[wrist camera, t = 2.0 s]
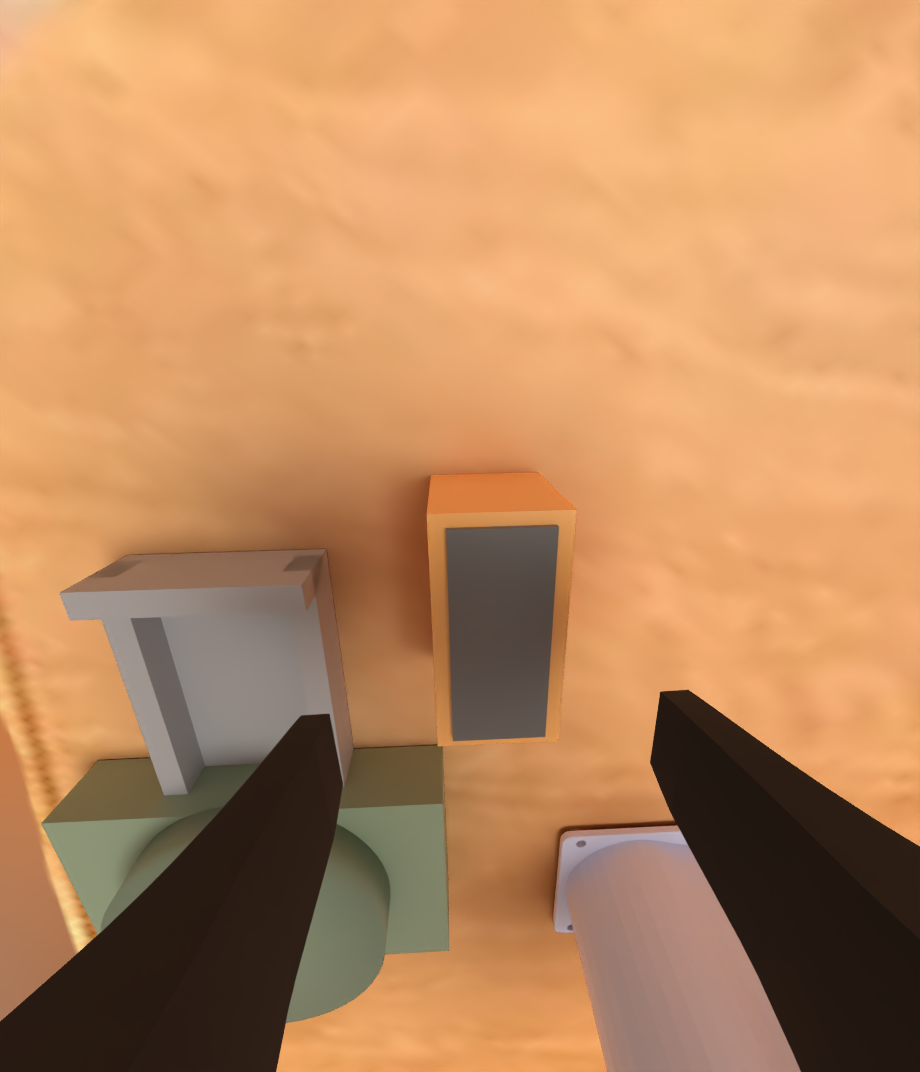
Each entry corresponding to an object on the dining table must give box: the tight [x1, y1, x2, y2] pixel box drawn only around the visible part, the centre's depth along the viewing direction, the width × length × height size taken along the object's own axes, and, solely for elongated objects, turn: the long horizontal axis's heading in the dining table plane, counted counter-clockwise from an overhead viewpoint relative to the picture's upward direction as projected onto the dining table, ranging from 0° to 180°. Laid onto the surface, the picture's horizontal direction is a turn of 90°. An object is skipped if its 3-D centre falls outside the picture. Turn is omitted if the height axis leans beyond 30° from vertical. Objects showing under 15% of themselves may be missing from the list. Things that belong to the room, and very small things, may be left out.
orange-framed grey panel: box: [427, 472, 577, 747], centre depth 15 cm, size 4×8×5 cm, turn 1°
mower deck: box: [41, 549, 449, 1023], centre depth 18 cm, size 16×21×5 cm
